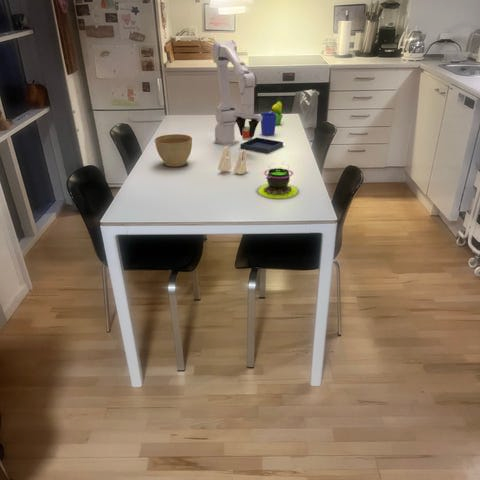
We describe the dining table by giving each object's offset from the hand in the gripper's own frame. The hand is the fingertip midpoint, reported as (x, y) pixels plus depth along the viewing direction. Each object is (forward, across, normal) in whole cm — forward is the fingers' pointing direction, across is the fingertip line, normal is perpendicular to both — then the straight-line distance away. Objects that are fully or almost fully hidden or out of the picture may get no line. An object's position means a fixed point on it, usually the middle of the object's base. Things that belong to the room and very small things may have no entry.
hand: (247, 135), depth 217 cm
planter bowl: (+9, +19, +29) cm, 36 cm away
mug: (+9, +11, -37) cm, 39 cm away
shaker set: (+9, -9, +25) cm, 28 cm away
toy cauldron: (+9, -36, +33) cm, 50 cm away
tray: (+8, 0, -13) cm, 15 cm away
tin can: (+1, 0, 0) cm, 1 cm away
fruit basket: (+8, +20, -58) cm, 62 cm away
